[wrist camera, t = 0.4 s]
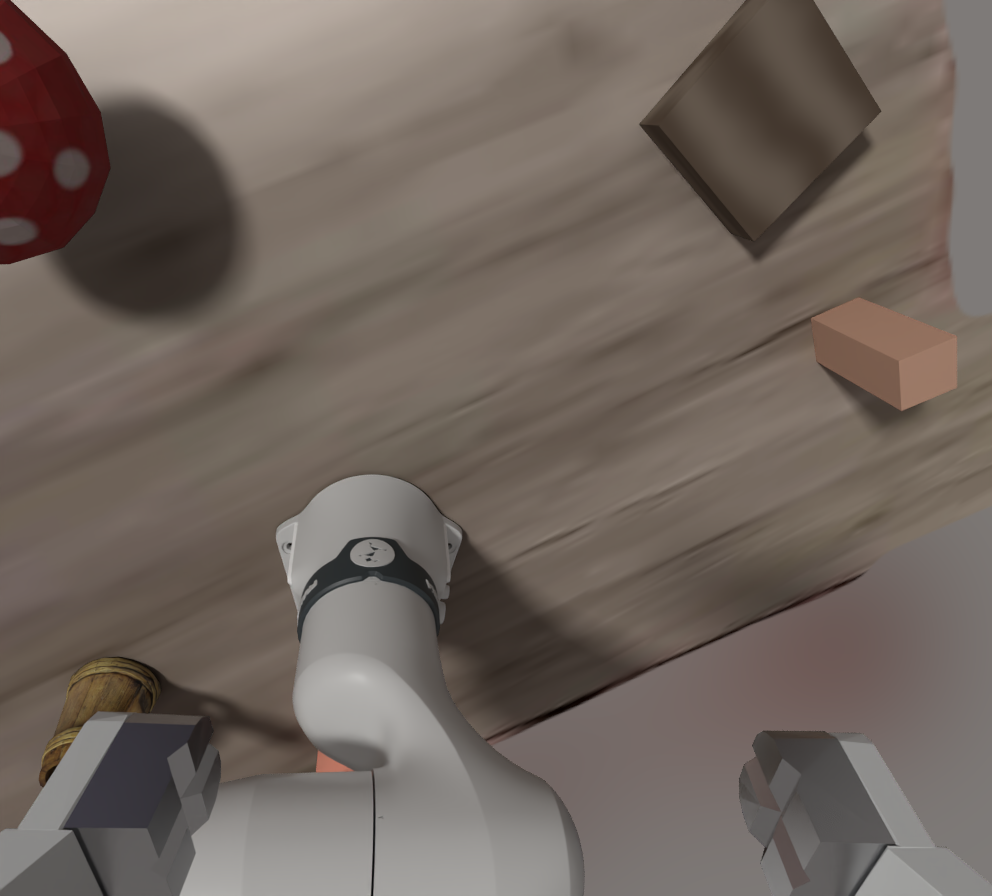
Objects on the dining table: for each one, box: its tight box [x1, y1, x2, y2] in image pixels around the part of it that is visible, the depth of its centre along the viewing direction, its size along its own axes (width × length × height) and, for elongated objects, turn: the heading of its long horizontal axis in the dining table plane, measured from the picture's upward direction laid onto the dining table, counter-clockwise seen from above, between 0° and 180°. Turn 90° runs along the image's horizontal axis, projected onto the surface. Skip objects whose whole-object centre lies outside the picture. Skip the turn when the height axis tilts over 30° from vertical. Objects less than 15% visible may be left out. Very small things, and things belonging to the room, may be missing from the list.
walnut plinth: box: [640, 0, 881, 242], centre depth 50 cm, size 13×13×4 cm
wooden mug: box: [39, 657, 161, 788], centre depth 61 cm, size 9×14×18 cm, turn 108°
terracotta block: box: [811, 298, 957, 411], centre depth 57 cm, size 5×5×12 cm
